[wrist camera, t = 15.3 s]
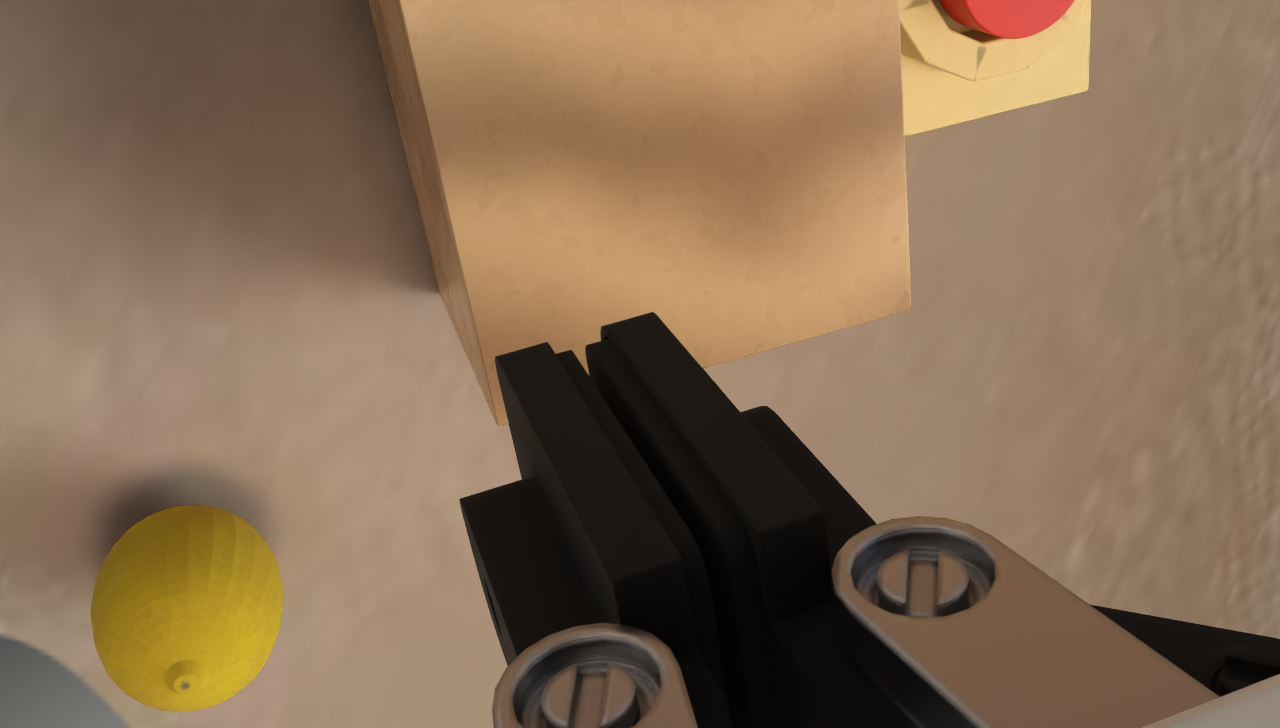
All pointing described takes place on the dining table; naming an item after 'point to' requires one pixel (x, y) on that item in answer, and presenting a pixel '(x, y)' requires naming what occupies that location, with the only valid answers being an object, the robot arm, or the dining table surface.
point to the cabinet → (653, 168)
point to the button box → (985, 65)
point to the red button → (1006, 15)
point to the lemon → (187, 608)
